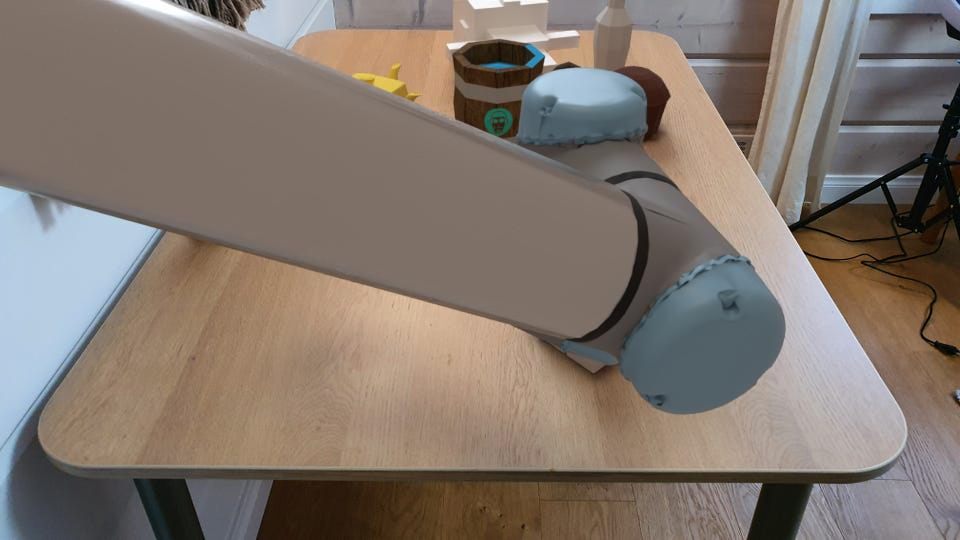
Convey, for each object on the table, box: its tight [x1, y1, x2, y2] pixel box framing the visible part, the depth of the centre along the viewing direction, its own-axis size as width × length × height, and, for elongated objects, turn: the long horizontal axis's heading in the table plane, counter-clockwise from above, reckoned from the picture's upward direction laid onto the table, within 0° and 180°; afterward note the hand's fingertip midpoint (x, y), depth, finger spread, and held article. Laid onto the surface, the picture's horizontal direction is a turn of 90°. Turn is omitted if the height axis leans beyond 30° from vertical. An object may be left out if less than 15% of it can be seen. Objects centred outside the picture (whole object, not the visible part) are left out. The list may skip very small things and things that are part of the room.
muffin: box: [613, 65, 672, 141], centre depth 118 cm, size 12×11×10 cm
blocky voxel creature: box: [445, 0, 581, 74], centre depth 136 cm, size 15×25×28 cm
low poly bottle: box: [592, 0, 634, 71], centre depth 130 cm, size 6×6×22 cm
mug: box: [452, 39, 582, 145], centre depth 111 cm, size 20×14×15 cm
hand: (249, 164), depth 67 cm, fingers closed on pill bottle, 5 cm apart
